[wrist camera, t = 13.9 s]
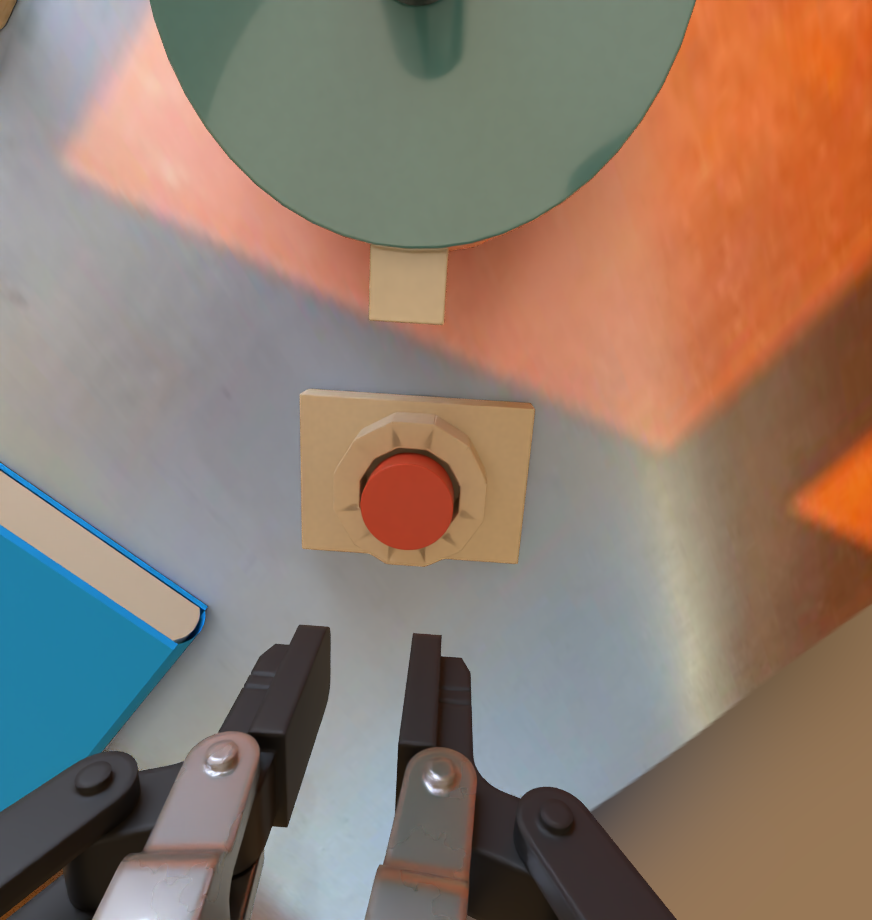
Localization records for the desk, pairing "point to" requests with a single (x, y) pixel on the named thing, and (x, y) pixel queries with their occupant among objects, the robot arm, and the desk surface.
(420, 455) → the button
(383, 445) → the button box
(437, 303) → the pot
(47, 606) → the book
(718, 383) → the desk surface
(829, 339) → the desk surface
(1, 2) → the grandmother figurine
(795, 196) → the desk surface
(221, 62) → the lid
